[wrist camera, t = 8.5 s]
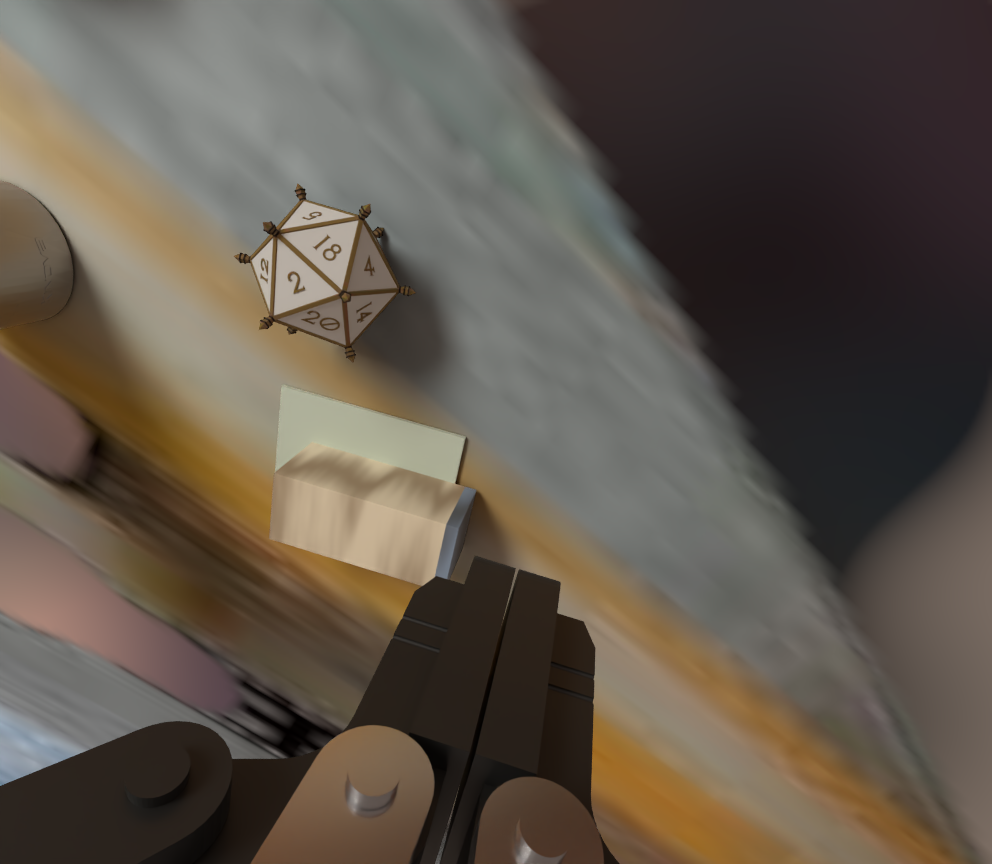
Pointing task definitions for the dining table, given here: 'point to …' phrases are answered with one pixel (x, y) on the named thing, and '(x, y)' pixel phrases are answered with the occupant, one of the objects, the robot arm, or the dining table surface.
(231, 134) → the dining table surface
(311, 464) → the birch block
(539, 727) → the robot arm
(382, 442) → the board
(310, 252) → the game die
